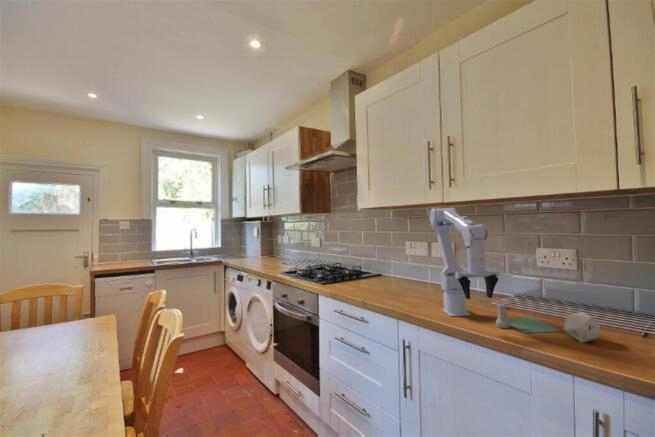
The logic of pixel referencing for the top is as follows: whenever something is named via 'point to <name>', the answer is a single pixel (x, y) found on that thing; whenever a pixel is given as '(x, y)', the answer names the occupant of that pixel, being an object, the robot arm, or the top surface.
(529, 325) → the felt mat
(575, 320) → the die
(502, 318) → the rook chess piece
